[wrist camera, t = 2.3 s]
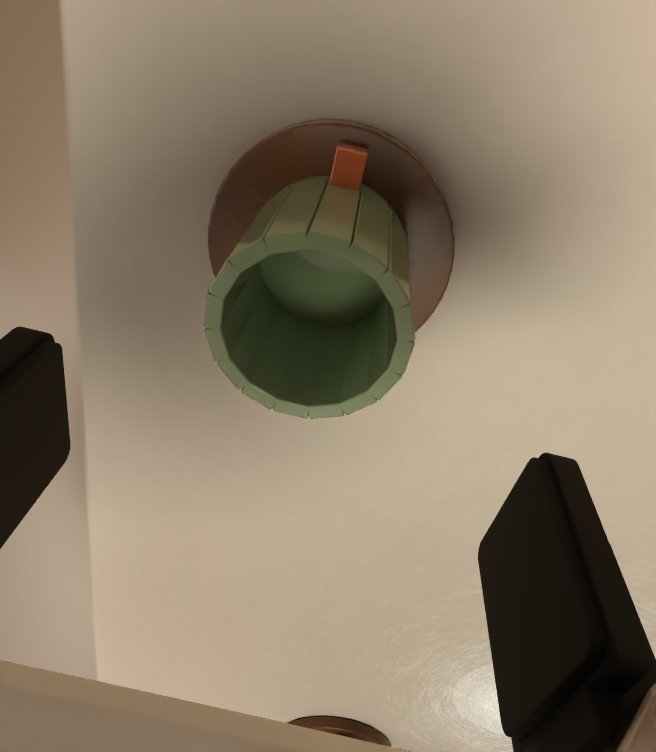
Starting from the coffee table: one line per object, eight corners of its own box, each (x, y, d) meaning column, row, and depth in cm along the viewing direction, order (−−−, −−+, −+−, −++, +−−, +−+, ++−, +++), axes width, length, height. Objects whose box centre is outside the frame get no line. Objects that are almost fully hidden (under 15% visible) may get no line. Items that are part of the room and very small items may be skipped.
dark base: (270, 755, 45) (268, 766, 45) (288, 706, 40) (287, 717, 40) (374, 777, 46) (374, 788, 45) (405, 731, 41) (405, 743, 40)
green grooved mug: (241, 308, 21) (196, 394, 16) (267, 119, 17) (218, 159, 12) (384, 342, 21) (381, 436, 17) (441, 163, 17) (460, 218, 13)
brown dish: (204, 324, 23) (198, 333, 22) (226, 89, 18) (219, 91, 17) (410, 373, 23) (411, 383, 22) (490, 156, 18) (494, 161, 17)
